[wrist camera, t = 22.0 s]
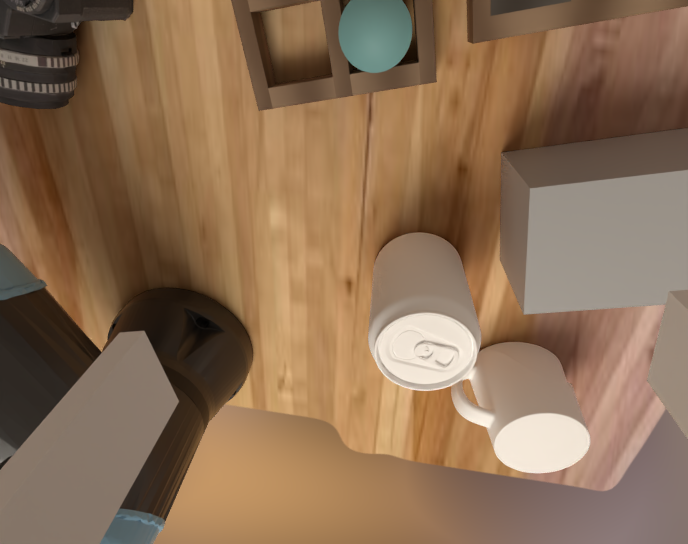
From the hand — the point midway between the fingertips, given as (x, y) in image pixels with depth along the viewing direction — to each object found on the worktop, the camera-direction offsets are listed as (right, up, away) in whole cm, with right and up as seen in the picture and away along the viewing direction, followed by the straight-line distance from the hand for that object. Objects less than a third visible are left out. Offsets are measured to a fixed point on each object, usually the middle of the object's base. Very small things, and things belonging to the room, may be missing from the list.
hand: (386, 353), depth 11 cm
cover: (+20, +8, +24) cm, 32 cm away
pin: (+2, +20, +19) cm, 28 cm away
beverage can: (+6, +3, +29) cm, 30 cm away
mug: (+16, -8, +34) cm, 39 cm away
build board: (-1, +19, +20) cm, 28 cm away
